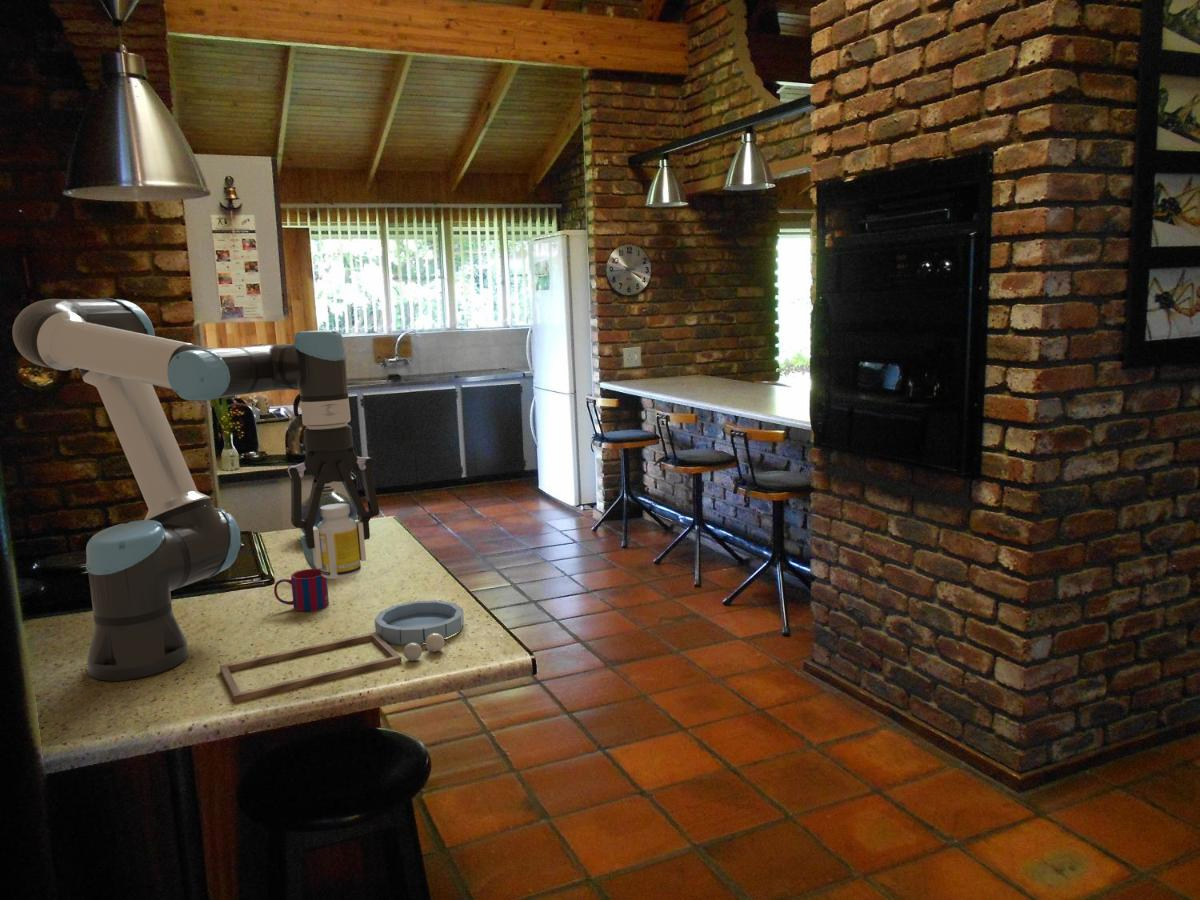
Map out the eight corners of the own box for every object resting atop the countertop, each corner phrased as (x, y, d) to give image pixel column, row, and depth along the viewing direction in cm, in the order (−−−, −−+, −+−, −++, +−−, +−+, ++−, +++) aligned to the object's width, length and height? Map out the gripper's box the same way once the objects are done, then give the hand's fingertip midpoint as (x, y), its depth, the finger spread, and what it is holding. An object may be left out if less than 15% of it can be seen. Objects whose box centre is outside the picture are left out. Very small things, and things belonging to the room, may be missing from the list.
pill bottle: (369, 570, 149) (363, 503, 147) (343, 581, 143) (336, 511, 142) (339, 567, 152) (333, 501, 150) (312, 578, 146) (305, 509, 144)
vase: (322, 528, 240) (318, 480, 238) (371, 531, 235) (367, 482, 233) (285, 543, 226) (281, 492, 224) (337, 547, 221) (332, 494, 219)
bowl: (393, 652, 151) (392, 636, 151) (366, 626, 164) (365, 611, 164) (476, 633, 159) (475, 617, 159) (444, 609, 172) (443, 595, 172)
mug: (328, 609, 174) (326, 576, 173) (275, 616, 172) (272, 582, 171) (329, 599, 181) (326, 567, 180) (277, 605, 178) (274, 572, 177)
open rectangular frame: (235, 702, 134) (234, 696, 133) (220, 671, 145) (219, 665, 145) (401, 662, 147) (401, 657, 147) (375, 637, 159) (375, 632, 158)
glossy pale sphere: (407, 665, 146) (406, 647, 145) (401, 659, 148) (400, 642, 148) (425, 661, 147) (423, 643, 147) (418, 655, 150) (417, 638, 149)
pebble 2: (430, 656, 149) (428, 638, 149) (423, 650, 152) (422, 632, 151) (447, 652, 151) (446, 634, 150) (441, 646, 154) (439, 628, 153)
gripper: (268, 434, 136) (283, 578, 140) (392, 421, 145) (403, 557, 149) (260, 429, 143) (275, 568, 146) (380, 418, 152) (391, 548, 155)
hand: (340, 562), depth 147 cm, fingers closed on pill bottle, 6 cm apart
